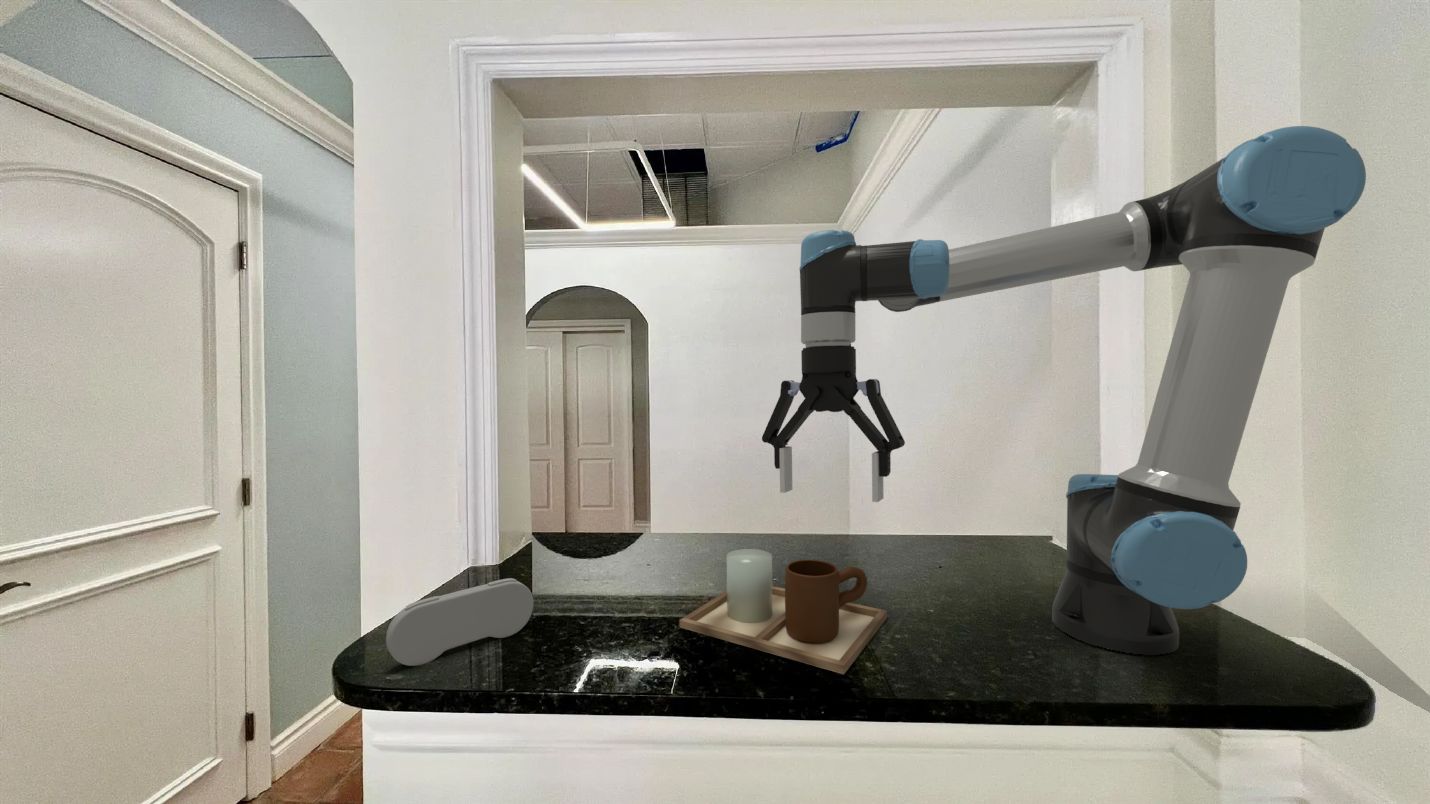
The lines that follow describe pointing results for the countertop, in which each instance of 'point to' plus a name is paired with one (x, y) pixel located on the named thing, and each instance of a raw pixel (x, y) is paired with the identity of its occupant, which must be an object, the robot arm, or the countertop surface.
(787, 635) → the organizer
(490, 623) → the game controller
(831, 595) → the mug
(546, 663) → the countertop surface
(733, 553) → the pillar candle
